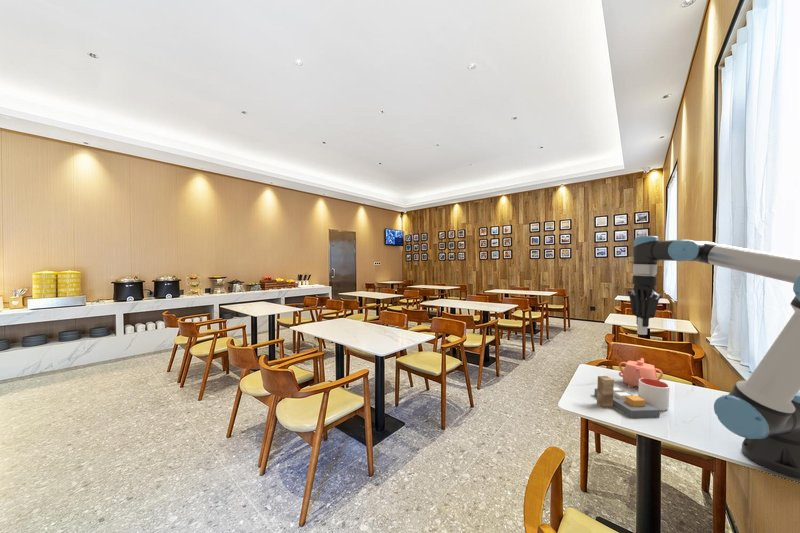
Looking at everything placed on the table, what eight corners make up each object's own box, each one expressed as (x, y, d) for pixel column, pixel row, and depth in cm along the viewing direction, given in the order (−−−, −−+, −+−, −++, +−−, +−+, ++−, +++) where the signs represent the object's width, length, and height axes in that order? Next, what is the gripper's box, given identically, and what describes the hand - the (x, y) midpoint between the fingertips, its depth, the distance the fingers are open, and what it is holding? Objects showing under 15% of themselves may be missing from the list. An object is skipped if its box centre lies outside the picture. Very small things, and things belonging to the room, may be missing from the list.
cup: (674, 413, 123) (675, 389, 123) (646, 410, 125) (647, 386, 125) (658, 401, 133) (659, 379, 133) (633, 399, 135) (634, 377, 135)
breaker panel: (659, 417, 120) (660, 406, 120) (631, 418, 119) (631, 406, 119) (619, 394, 140) (619, 384, 140) (594, 395, 139) (594, 385, 139)
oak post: (612, 408, 127) (613, 379, 126) (603, 408, 126) (604, 379, 126) (605, 403, 131) (606, 376, 130) (596, 403, 130) (597, 376, 130)
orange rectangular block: (644, 408, 122) (645, 400, 122) (633, 408, 122) (633, 400, 122) (636, 403, 126) (636, 395, 126) (625, 403, 126) (625, 395, 126)
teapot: (635, 393, 141) (637, 366, 141) (612, 379, 158) (613, 355, 157) (669, 394, 141) (670, 367, 140) (641, 380, 157) (642, 355, 157)
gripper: (669, 276, 114) (666, 338, 115) (638, 274, 128) (636, 330, 128) (650, 276, 114) (648, 338, 114) (622, 274, 127) (619, 330, 128)
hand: (642, 334), depth 121 cm, fingers closed
